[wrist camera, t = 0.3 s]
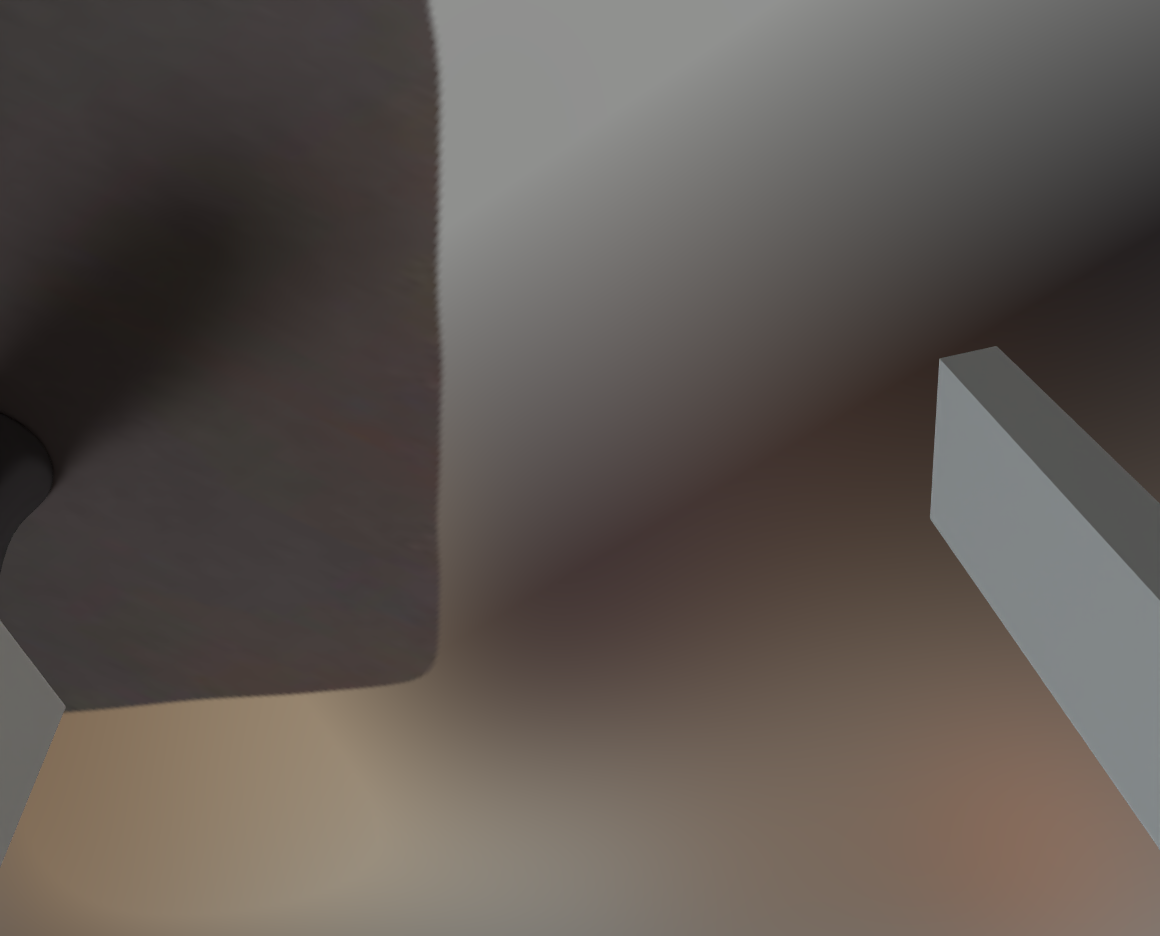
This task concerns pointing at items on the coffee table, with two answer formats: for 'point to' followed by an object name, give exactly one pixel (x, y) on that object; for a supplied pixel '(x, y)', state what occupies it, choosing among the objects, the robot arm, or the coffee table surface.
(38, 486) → the beer glass
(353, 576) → the coffee table surface
